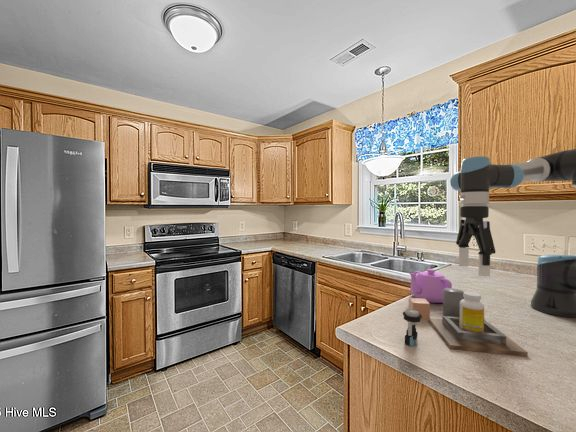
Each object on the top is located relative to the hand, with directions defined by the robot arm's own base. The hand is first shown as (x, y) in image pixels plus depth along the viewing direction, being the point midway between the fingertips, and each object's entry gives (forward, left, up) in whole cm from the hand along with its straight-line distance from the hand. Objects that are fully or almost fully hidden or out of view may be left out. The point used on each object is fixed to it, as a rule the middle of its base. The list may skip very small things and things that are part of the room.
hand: (473, 270), depth 87 cm
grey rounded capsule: (-1, -17, -22) cm, 28 cm away
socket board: (0, 0, -22) cm, 22 cm away
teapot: (+3, -36, -22) cm, 42 cm away
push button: (+20, +8, -22) cm, 31 cm away
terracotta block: (+12, -15, -22) cm, 29 cm away
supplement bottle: (0, 0, -21) cm, 21 cm away
